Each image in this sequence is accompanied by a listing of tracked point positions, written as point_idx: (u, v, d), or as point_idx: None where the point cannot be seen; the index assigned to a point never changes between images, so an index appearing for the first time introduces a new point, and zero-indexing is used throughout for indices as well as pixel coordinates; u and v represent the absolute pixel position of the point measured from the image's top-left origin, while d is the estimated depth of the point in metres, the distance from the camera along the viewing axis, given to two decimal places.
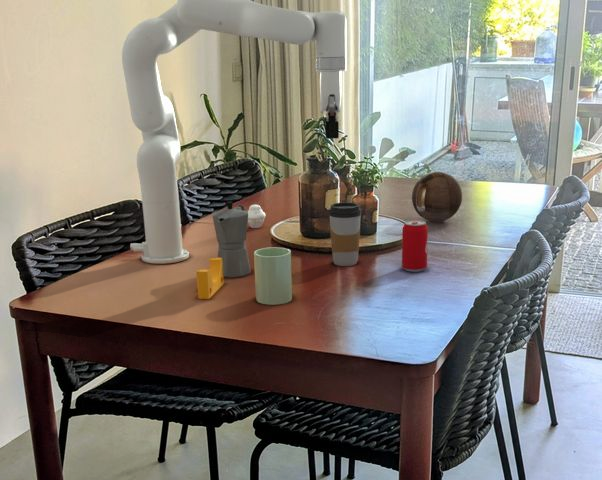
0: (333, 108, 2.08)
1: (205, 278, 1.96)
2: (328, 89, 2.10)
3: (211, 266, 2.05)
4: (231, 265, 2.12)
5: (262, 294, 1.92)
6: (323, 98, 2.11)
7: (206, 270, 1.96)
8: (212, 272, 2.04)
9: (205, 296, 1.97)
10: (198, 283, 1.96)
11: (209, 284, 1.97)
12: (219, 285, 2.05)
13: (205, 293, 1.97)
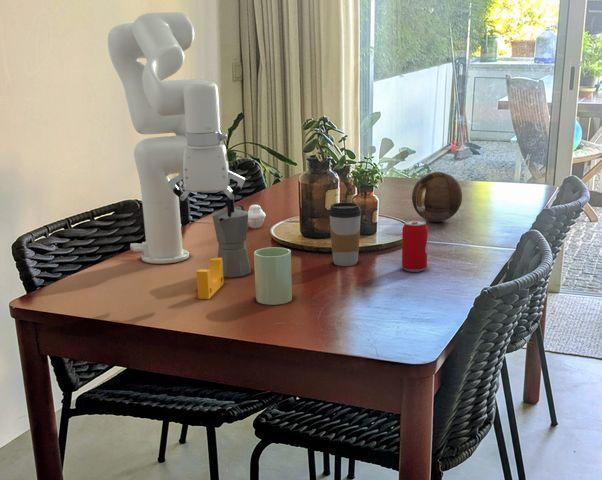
0: None
1: (205, 278, 1.96)
2: None
3: (211, 266, 2.05)
4: (231, 265, 2.12)
5: (262, 294, 1.92)
6: None
7: (206, 270, 1.96)
8: (212, 272, 2.04)
9: (205, 296, 1.97)
10: (198, 283, 1.96)
11: (209, 284, 1.97)
12: (219, 285, 2.05)
13: (205, 293, 1.97)
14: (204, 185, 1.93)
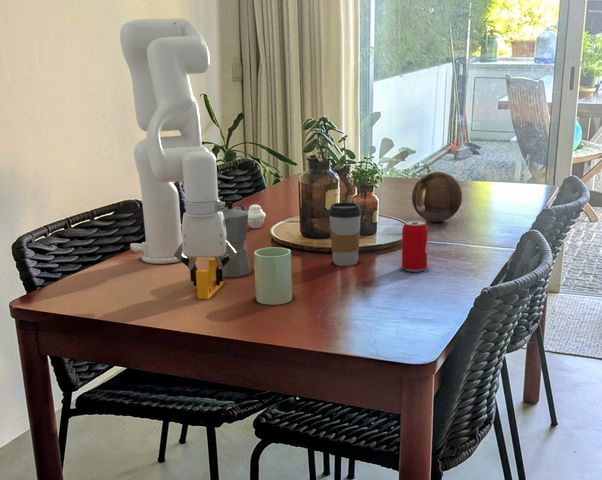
0: None
1: (205, 278, 1.96)
2: None
3: (210, 266, 2.05)
4: (231, 265, 2.12)
5: (262, 294, 1.92)
6: None
7: (206, 270, 1.96)
8: (211, 272, 2.04)
9: (204, 296, 1.97)
10: (197, 283, 1.96)
11: (209, 284, 1.97)
12: None
13: (204, 293, 1.97)
14: (202, 251, 1.97)
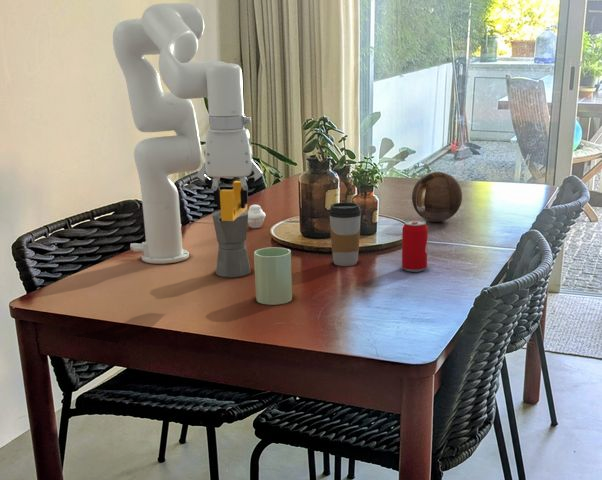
0: None
1: (229, 198, 1.86)
2: None
3: (234, 189, 1.95)
4: (231, 265, 2.12)
5: (262, 294, 1.92)
6: None
7: (230, 190, 1.86)
8: (235, 195, 1.94)
9: (229, 218, 1.87)
10: (221, 204, 1.86)
11: (233, 205, 1.87)
12: (243, 209, 1.95)
13: (229, 214, 1.87)
14: (226, 170, 1.87)
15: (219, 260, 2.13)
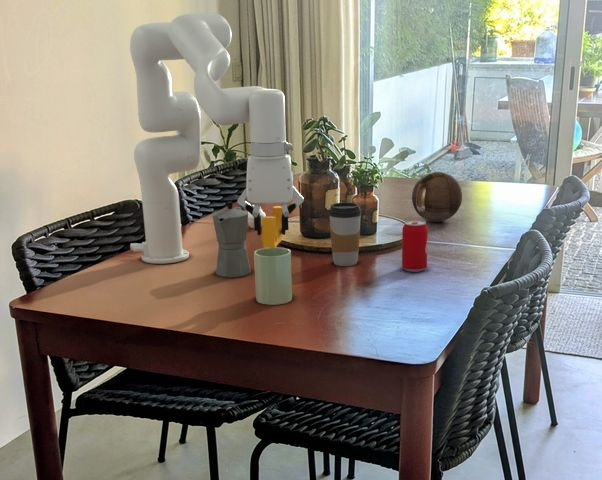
0: None
1: (272, 226, 1.84)
2: None
3: (274, 215, 1.93)
4: (231, 265, 2.12)
5: (262, 294, 1.92)
6: None
7: (272, 217, 1.84)
8: (275, 221, 1.92)
9: (271, 245, 1.85)
10: (263, 231, 1.84)
11: (275, 232, 1.85)
12: (283, 235, 1.93)
13: (271, 241, 1.85)
14: (268, 197, 1.85)
15: (219, 260, 2.13)
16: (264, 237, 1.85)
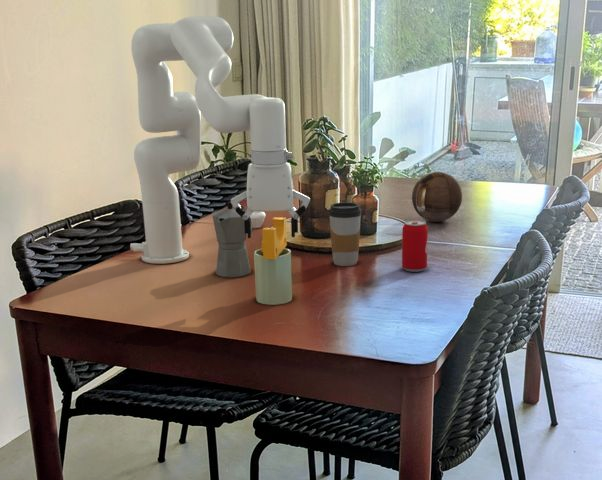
0: None
1: (272, 237, 1.85)
2: None
3: (274, 226, 1.94)
4: (231, 265, 2.12)
5: (262, 294, 1.92)
6: None
7: (272, 228, 1.85)
8: (275, 232, 1.93)
9: (271, 256, 1.86)
10: (263, 243, 1.85)
11: (275, 243, 1.86)
12: (283, 246, 1.94)
13: (271, 253, 1.86)
14: (268, 205, 1.86)
15: (219, 260, 2.13)
16: (264, 249, 1.86)
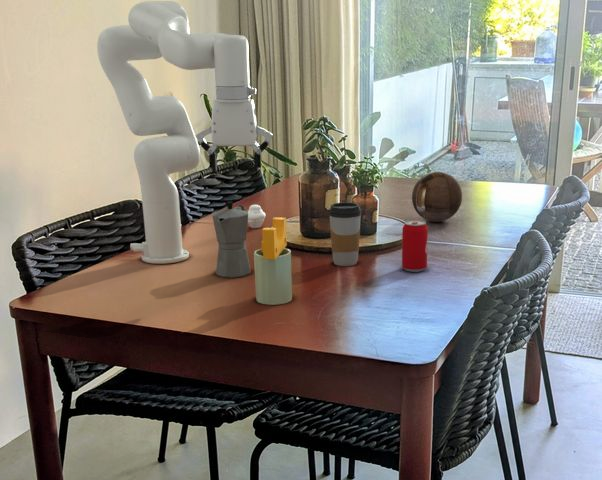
0: None
1: (272, 237, 1.85)
2: None
3: (274, 226, 1.94)
4: (231, 265, 2.12)
5: (262, 294, 1.92)
6: None
7: (272, 228, 1.85)
8: (275, 232, 1.93)
9: (271, 256, 1.86)
10: (263, 243, 1.85)
11: (275, 243, 1.86)
12: (283, 246, 1.94)
13: (271, 253, 1.86)
14: (232, 139, 1.94)
15: (219, 260, 2.13)
16: (264, 249, 1.86)
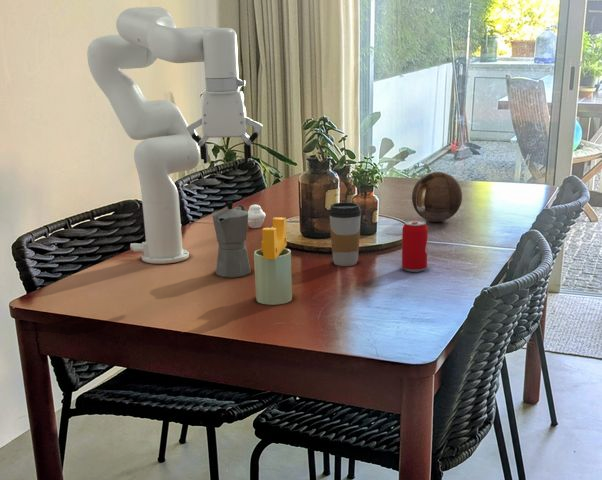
0: None
1: (272, 237, 1.85)
2: None
3: (274, 226, 1.94)
4: (231, 265, 2.12)
5: (262, 294, 1.92)
6: None
7: (272, 228, 1.85)
8: (275, 232, 1.93)
9: (271, 256, 1.86)
10: (263, 243, 1.85)
11: (275, 243, 1.86)
12: (283, 246, 1.94)
13: (271, 253, 1.86)
14: (222, 130, 1.97)
15: (219, 260, 2.13)
16: (264, 249, 1.86)
